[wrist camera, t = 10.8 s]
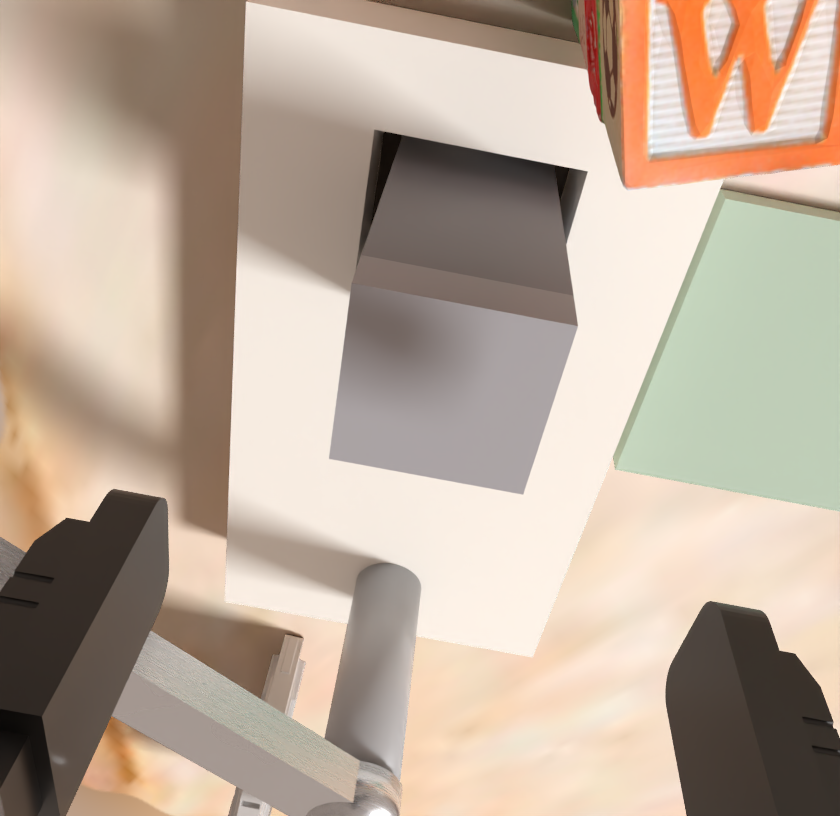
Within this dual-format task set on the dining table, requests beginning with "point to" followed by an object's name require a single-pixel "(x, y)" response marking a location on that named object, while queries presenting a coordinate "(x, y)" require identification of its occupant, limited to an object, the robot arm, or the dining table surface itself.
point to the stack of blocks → (713, 86)
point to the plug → (456, 319)
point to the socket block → (326, 323)
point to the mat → (749, 360)
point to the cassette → (282, 695)
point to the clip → (241, 734)
